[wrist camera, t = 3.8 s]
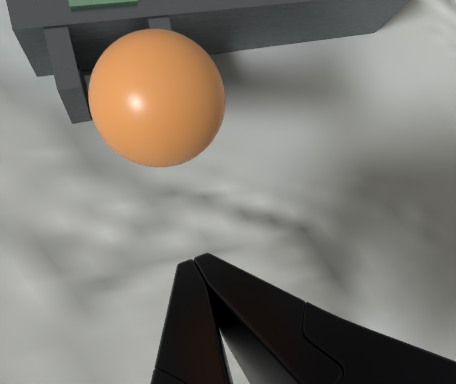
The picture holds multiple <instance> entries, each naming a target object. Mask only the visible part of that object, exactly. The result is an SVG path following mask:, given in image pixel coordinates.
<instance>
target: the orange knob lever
mask: <svg viewBox="0 0 456 384" xmlns="http://www.w3.org/2000/svg"><path fill="white" fill-rule="evenodd" d="M84 77H85V82H86V86H87V90H88V98H89V107H90V112H91V116H92V119H93V121H94V124H95V126H96V128H97V130H98V131H99V133H100V135H101V136H102V138H103V139H104V140H105V141H106V142H107V144H108V145H109V146H110V147H111V148H112V149H113V150H115V151H116V152H117V153H118V154H120V155H121V156H123V157H124V158H126V159H128V160H130V161H132V162H135V163H138V164H141V165H145V166H151V167H170V166H175V165H179V164H182V163H184V162H187V161H189V160H191V159H193V158H194V157H196V156H197V155H199V154H200V153H201V152H203V151H204V150H205V149H206V148H207V147H208V146H209V144H210V143H211V142H212V141H213V139H214V138H215V136H216V134H217V133H218V131H219V128H220V126H221V124H222V120H223V117H224V111H225V90H224V85H223V81H222V78H221V75H220V73H219V70H218V68H217V66H216V65H215V63H214V61H213V60H212V58H211V57H210V56H209V55H208V53H207V52H206V51H205V50H204V49H203V48H202V47H201V46H199V45H198V44H197V43H195V42H194V41H193V40H191V39H189V38H188V37H186V36H184V35H182V34H179V33H177V32H174V31H170V30H165V29H144V30H139V31H135V32H132V33H129V34H127V35H125V36H123V37H121V38H119V39H118V40H116V41H115V42H113V43H112V44H111V45H110V46H109V47H108V48H107V49H106V50H105V51H104V52H103V54H102V55H101V56H100V57H99V59H98V61H97V63H96V64H95V67H94V69H93V70H92V74H91V75H84Z"/></svg>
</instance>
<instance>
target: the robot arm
mask: <svg viewBox="0 0 456 384" xmlns="http://www.w3.org/2000/svg"><path fill="white" fill-rule="evenodd" d="M220 332H221V334H222V336H223V338H224V340H225V342H226V343H227V345H228V347H229V348H230V350H231V352H232V354H233V355H234V357H235V359H236V360H237V362H238V364H239V365H240V367H241V369H242V371H243V372H244V374H245V376H246V377H247V379H248V381H249V382H250V384H456V361H453V360H450V359H448V358H445V357H442V356H440V355H437V354H434V353H432V352H429V351H426V350H424V349H421V348H418V347H415V346H413V345H410V344H407V343H405V342H402V341H399V340H397V339H394V338H391V337H389V336H386V335H383V334H381V333H378V332H375V331H373V330H370V329H367V328H365V327H362V326H360V325H357V324H355V323H352V322H350V321H347V320H345V319H342V318H340V317H338V316H336V315H333V314H331V313H329V312H327V311H325V310H323V309H321V308H319V307H317V306H315V305H313V304H311V303H309V302H306V303H305V301H303V300H302V299H300V298H298V297H296V296H294V295H292V294H290V293H288V292H286V291H284V290H282V289H280V288H278V287H276V286H274V285H272V284H270V283H268V282H266V281H264V280H262V279H260V278H258V277H256V276H254V275H252V274H250V273H248V272H246V271H244V270H242V269H240V268H238V267H236V266H234V265H232V264H230V263H228V262H226V261H224V260H222V259H220V258H218V257H216V256H214V255H212V254H210V253H205V254H202V255H200V256H197V257H195V258H194V260H192V259H189V260H187V261H184V262H182V263H179V264H178V265H177V269H176V273H175V278H174V282H173V287H172V291H171V296H170V300H169V305H168V309H167V314H166V318H165V323H164V327H163V332H162V336H161V341H160V345H159V350H158V354H157V359H156V364H155V369H154V371H153V375H152V380H151V384H233V380H232V376H231V372H230V368H229V364H228V360H227V357H226V353H225V349H224V345H223V341H222V337H221V334H220Z"/></svg>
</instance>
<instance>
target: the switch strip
mask: <svg viewBox="0 0 456 384" xmlns="http://www.w3.org/2000/svg"><path fill="white" fill-rule="evenodd" d="M409 1H410V0H6V2H7V6H8V11H9V15H10V20H11V24H12V29H13V31H14V33H15V35H16V37H17V39H18V41H19V43H20V45H21V47H22V49H23V51H24V52H25V54H26V56H27V58H28V60H29V62H30V64H31V66H32V68H33V70H34V72H35V74H36V76H37V77H38V76H45V75H53V74H54V77H55V81H56V85H57V90H58V92H59V94H60V97H61V99H62V101H63V104H64V106H65V108H66V111H67V113H68V115H69V117H70V120H71V122H72V123H78V122H84V121H90V120H91V117H90V113H89V109H88V105H87V100H86V96H85V92H84V88H83V84H82V79H81V75H80V71H84V70H92V69H94V67H95V64H96V63H97V61H98V59H99V57H100V56H101V55H102V54H103V52H104V51H105V50H106V49H107V48H108V47H109V46H110V45H111V44H112V43H113V42H115V41H116V40H118V39H119V38H121V37H123V36H125V35H127V34H129V33H132V32H135V31H139V30H144V29H165V30H170V31H174V32H177V33H179V34H182V35H184V36H186V37H188V38H189V39H191V40H193V41H194V42H195V43H197V44H198V45H199V46H201V47H202V48H203V49H204V50H205V51H206V52H207V53H208V54H215V53H222V52H230V51H238V50H245V49H253V48H261V47H269V46H276V45H284V44H292V43H299V42H307V41H315V40H322V39H330V38H338V37H345V36H353V35H361V34H369V33H374V32H375V31H377V30H378V29H379V28H380V27H381V26H382V25H383V24H384V23H385V22H386V21H388V20H389V19H390V18H391V17H392V16H393V15H394V14H395V13H396V12H398V11H399V10H400V9H401V8H402V7H403V6H404V5H405V4H406V3H408V2H409Z"/></svg>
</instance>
